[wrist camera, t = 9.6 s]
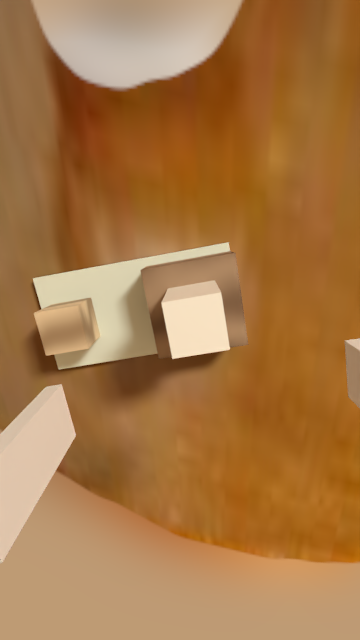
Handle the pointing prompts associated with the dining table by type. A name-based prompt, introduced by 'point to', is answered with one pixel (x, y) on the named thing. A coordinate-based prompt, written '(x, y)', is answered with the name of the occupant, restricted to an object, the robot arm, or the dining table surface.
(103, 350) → the build board
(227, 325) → the plinth
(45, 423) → the robot arm
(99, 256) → the dining table surface
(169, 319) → the white block
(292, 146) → the dining table surface
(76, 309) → the oak cube
